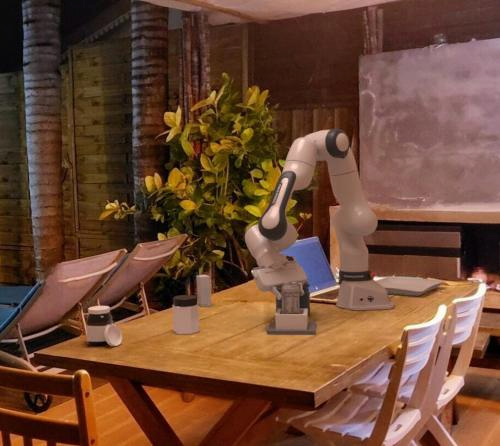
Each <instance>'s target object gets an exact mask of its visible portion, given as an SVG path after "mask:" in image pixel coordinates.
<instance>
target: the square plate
mask: <svg viewBox="0 0 500 446" xmlns="http://www.w3.org/2000/svg"><path fill="white" fill-rule="evenodd" d="M375 281H376V282H377V283H379V284H380V285H381V286H383V287H384V288H385V289H386V291H387V293H388V295H395V296H396V295H397V296H405V297H406V296H407V297H418V296H421V295H423V294H426V293H428V292H430V291H432V290H434V289H437V288H439V287H440V286H442V285H443V283H445V281H444V280H437V279H429V278H418V277H406V276H405V277H401V276H386V277H382V278H379V279H377V280H375Z"/></svg>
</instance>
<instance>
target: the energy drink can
mask: <svg viewBox="0 0 500 446" xmlns="http://www.w3.org/2000/svg"><path fill="white" fill-rule="evenodd" d="M282 295H283V296H284V297H283V299H282V314H300V312H299V286H298V284H297V282H294V281H289V282H283V286H282Z"/></svg>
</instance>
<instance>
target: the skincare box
mask: <svg viewBox="0 0 500 446" xmlns="http://www.w3.org/2000/svg"><path fill="white" fill-rule="evenodd" d="M195 277H196V292H197V293H196V294H197V300H198V302H197V304H198V305H199V306H200V307H203V308H207V307H212V292H211V291H212V290H211V288H212V287H211V276H209V275H207V274H198V275H197V274H196V276H195Z"/></svg>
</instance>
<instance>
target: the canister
mask: <svg viewBox="0 0 500 446" xmlns="http://www.w3.org/2000/svg"><path fill="white" fill-rule="evenodd" d="M308 279H309V278H308V277H307V281H306V282H305V283H304V284H303V285H302V289H303V291H304V294H303V295H302V296H299V309H308V318H309V317H310V316H311V299H310V298H311V292H310V289H309V288H310V286H311V284H310V283H309V282H308ZM277 291H278V292H279V293H282V289H277ZM278 308H282V299H280V300H278V299H277V297H276V296H275V313H276V312H277V310H278Z"/></svg>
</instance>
